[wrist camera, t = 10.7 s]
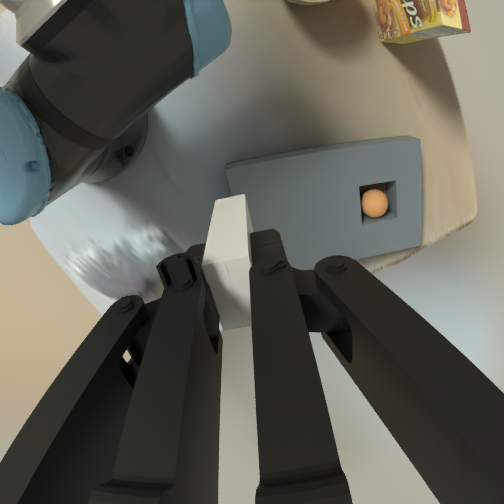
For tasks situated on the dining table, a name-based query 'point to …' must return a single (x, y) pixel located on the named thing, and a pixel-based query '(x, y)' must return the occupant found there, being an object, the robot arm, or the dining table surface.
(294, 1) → the tan round bowl
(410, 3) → the candy box
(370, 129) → the dining table surface
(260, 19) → the dining table surface
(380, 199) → the ball
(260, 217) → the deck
